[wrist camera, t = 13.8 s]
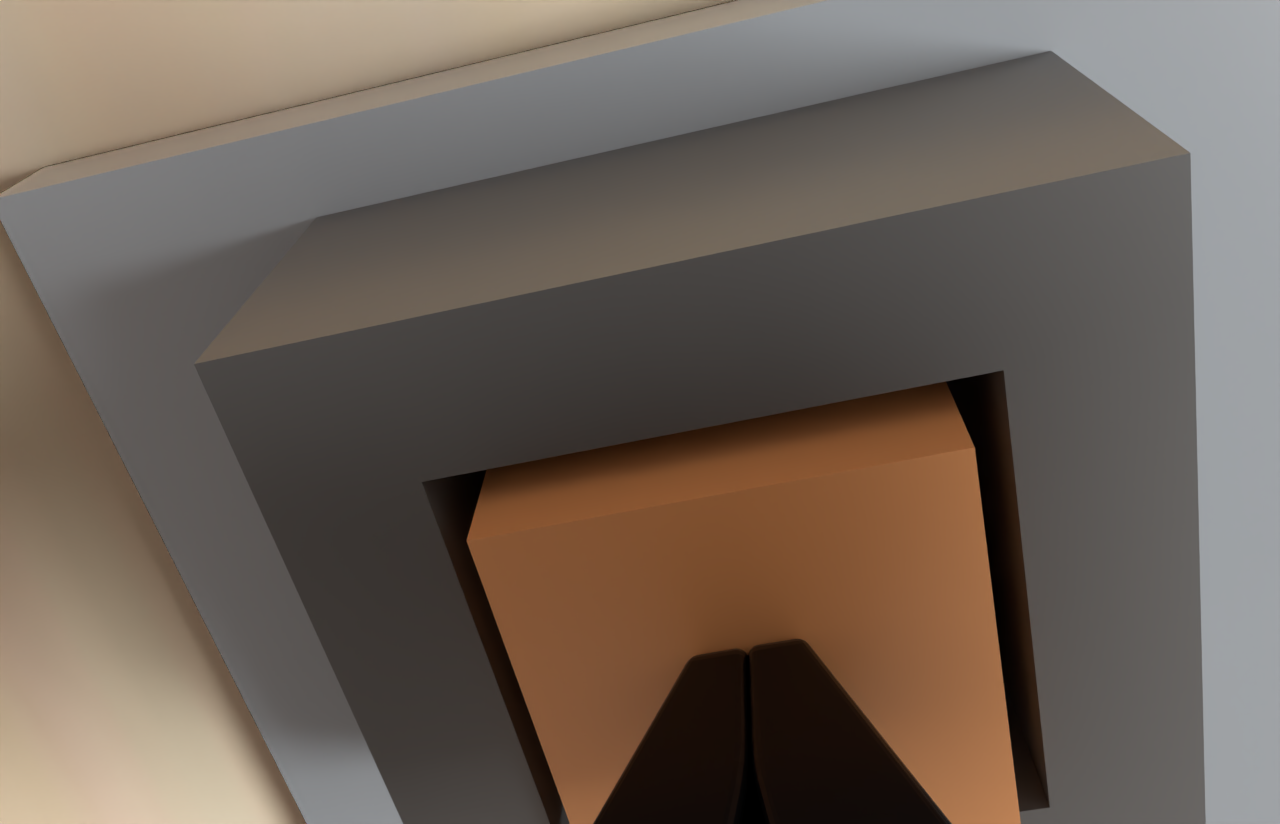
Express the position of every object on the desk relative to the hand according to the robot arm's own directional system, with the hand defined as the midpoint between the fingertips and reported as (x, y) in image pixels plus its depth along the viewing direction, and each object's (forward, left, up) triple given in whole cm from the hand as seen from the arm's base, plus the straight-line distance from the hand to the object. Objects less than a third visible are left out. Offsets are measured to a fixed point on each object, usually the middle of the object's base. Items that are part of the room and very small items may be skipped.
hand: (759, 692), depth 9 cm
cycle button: (0, 0, -3) cm, 3 cm away
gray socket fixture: (-8, 0, -4) cm, 9 cm away
